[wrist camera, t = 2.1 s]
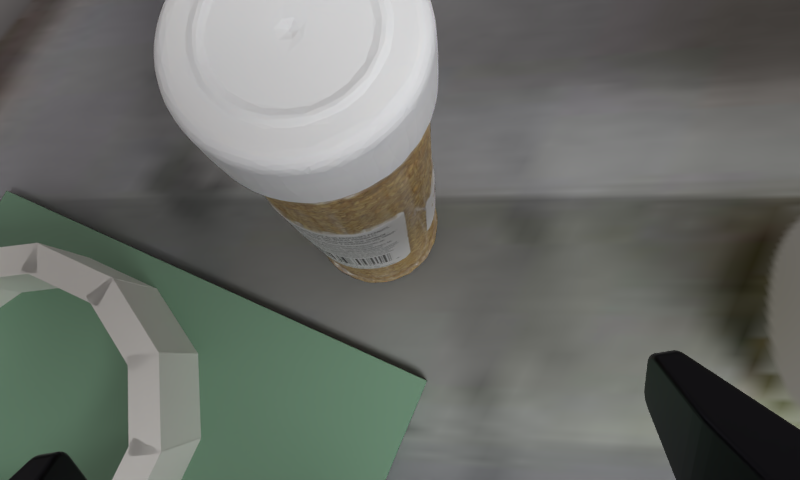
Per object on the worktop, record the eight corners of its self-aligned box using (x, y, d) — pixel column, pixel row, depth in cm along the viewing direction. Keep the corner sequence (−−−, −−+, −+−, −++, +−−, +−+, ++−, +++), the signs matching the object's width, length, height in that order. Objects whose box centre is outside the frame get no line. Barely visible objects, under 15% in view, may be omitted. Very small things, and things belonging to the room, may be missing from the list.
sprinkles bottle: (457, 200, 22) (490, -37, 9) (402, 306, 21) (347, 222, 8) (353, 150, 22) (236, -141, 9) (296, 251, 22) (84, 91, 9)
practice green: (427, 380, 21) (425, 385, 17) (268, 758, 18) (230, 850, 15) (15, 194, 23) (-58, 165, 20) (-166, 509, 21) (-284, 540, 17)
